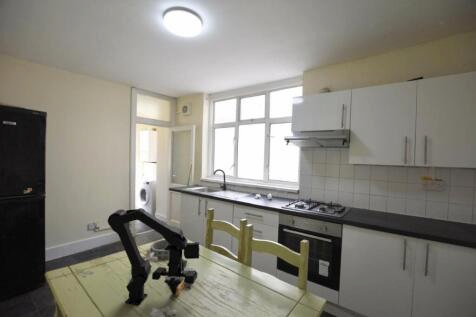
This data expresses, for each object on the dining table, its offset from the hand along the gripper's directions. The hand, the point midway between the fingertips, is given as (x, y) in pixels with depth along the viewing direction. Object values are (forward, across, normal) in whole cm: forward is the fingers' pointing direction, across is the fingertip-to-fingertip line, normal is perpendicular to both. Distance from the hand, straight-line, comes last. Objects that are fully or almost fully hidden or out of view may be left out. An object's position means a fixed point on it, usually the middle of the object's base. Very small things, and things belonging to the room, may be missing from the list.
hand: (174, 294), depth 94 cm
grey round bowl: (+1, +24, -39) cm, 46 cm away
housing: (+1, 0, -11) cm, 11 cm away
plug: (+1, 0, -9) cm, 9 cm away
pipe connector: (+1, +24, -20) cm, 32 cm away
